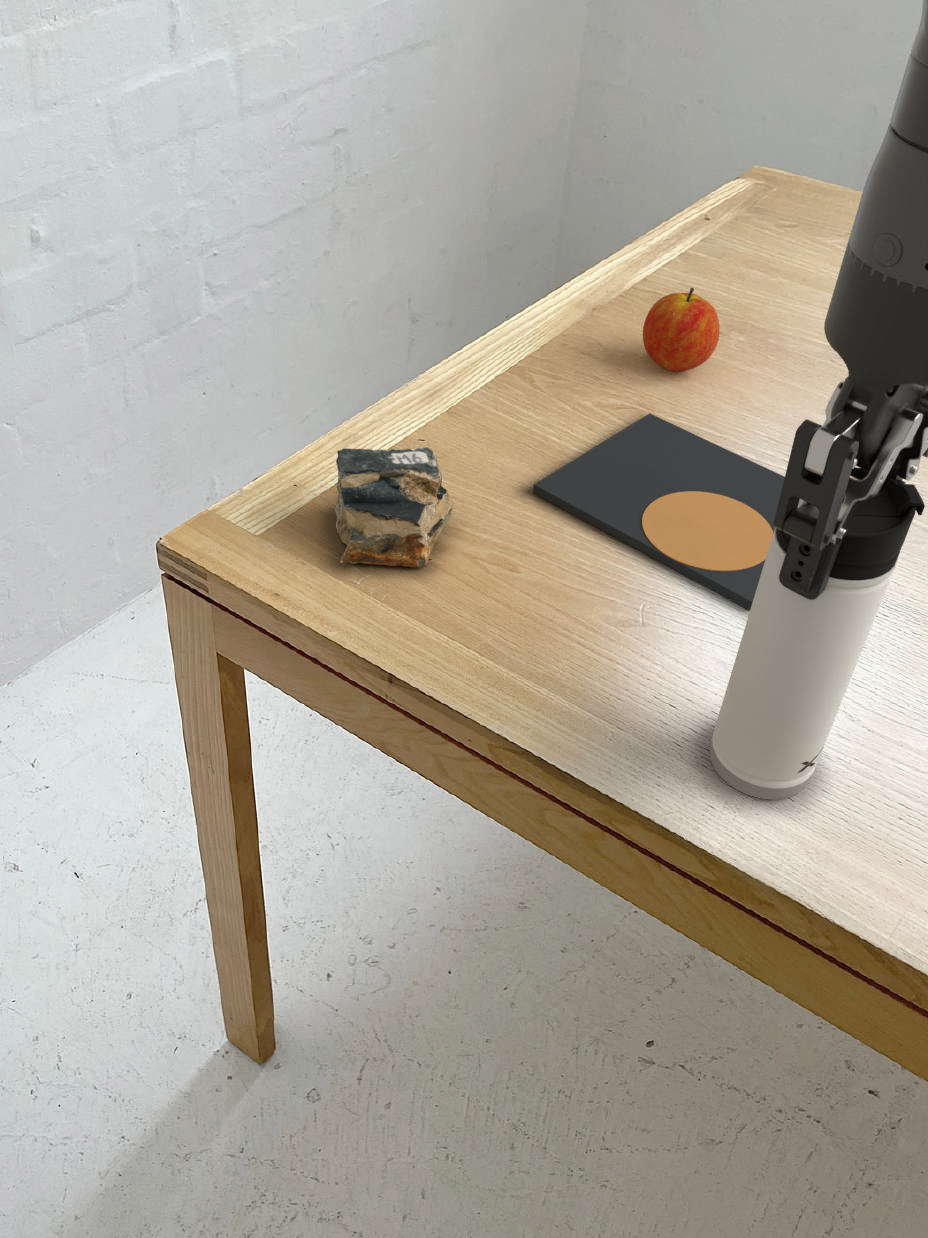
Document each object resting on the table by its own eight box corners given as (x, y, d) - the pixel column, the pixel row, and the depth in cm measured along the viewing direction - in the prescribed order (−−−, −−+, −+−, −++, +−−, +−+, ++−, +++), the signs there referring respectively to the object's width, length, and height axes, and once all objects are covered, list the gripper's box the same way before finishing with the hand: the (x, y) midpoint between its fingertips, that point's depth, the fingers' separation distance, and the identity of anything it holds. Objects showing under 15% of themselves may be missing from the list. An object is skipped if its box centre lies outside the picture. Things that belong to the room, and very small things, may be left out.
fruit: (626, 351, 108) (640, 271, 103) (693, 346, 110) (710, 267, 104) (653, 387, 103) (668, 305, 98) (722, 382, 105) (742, 301, 99)
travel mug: (827, 805, 67) (942, 531, 54) (716, 798, 66) (804, 522, 53) (805, 728, 71) (906, 459, 58) (701, 722, 71) (779, 451, 58)
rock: (341, 574, 80) (340, 509, 76) (332, 498, 87) (331, 434, 83) (461, 569, 81) (466, 504, 78) (443, 494, 88) (447, 431, 85)
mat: (856, 519, 89) (859, 510, 89) (750, 611, 80) (753, 601, 79) (648, 420, 99) (649, 411, 98) (532, 492, 89) (533, 483, 89)
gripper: (955, 332, 42) (830, 662, 53) (1088, 232, 50) (957, 535, 61) (777, 266, 45) (695, 588, 56) (929, 183, 54) (832, 477, 65)
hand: (832, 559), depth 59 cm, fingers closed on travel mug, 6 cm apart
